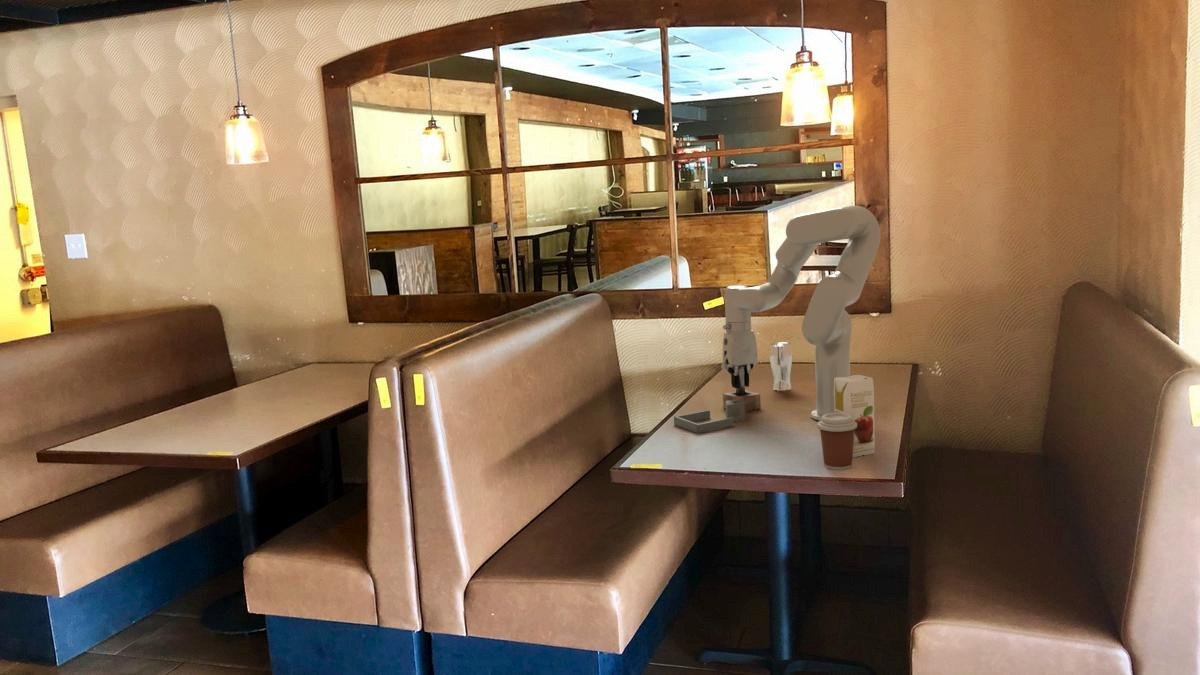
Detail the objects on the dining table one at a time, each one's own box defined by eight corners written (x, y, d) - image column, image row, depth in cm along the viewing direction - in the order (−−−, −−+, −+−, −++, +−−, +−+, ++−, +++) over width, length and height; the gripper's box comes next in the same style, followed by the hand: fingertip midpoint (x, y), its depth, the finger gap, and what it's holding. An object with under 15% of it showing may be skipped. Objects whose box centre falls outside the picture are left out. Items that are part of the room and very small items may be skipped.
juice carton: (831, 452, 228) (829, 377, 225) (860, 446, 230) (858, 372, 227) (849, 459, 221) (848, 382, 218) (879, 454, 223) (878, 377, 220)
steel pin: (747, 399, 277) (746, 357, 275) (739, 401, 276) (738, 359, 274) (741, 398, 279) (740, 356, 277) (734, 399, 278) (732, 357, 276)
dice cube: (743, 416, 268) (742, 399, 268) (745, 420, 263) (744, 403, 263) (726, 417, 269) (725, 400, 268) (727, 421, 264) (727, 404, 263)
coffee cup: (835, 457, 223) (834, 409, 221) (866, 465, 216) (865, 415, 214) (810, 466, 218) (808, 417, 216) (841, 474, 210) (839, 423, 208)
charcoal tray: (733, 425, 258) (733, 417, 258) (698, 433, 253) (697, 424, 252) (708, 417, 269) (708, 409, 269) (674, 424, 264) (673, 416, 263)
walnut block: (760, 408, 276) (760, 393, 275) (739, 412, 273) (738, 398, 272) (744, 403, 283) (744, 389, 282) (723, 408, 280) (722, 393, 279)
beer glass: (791, 386, 303) (790, 341, 300) (794, 391, 296) (792, 345, 294) (770, 387, 303) (768, 342, 301) (772, 392, 297) (770, 346, 294)
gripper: (723, 331, 267) (725, 393, 270) (768, 324, 274) (769, 384, 277) (708, 328, 274) (711, 388, 277) (752, 322, 281) (754, 381, 284)
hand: (740, 386), depth 277 cm, fingers closed on steel pin, 2 cm apart
